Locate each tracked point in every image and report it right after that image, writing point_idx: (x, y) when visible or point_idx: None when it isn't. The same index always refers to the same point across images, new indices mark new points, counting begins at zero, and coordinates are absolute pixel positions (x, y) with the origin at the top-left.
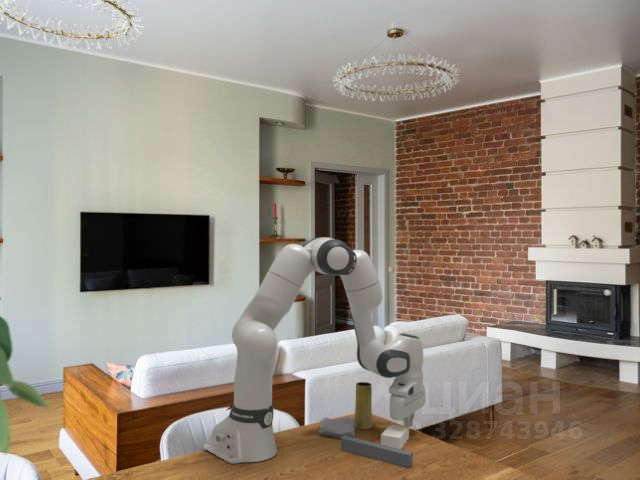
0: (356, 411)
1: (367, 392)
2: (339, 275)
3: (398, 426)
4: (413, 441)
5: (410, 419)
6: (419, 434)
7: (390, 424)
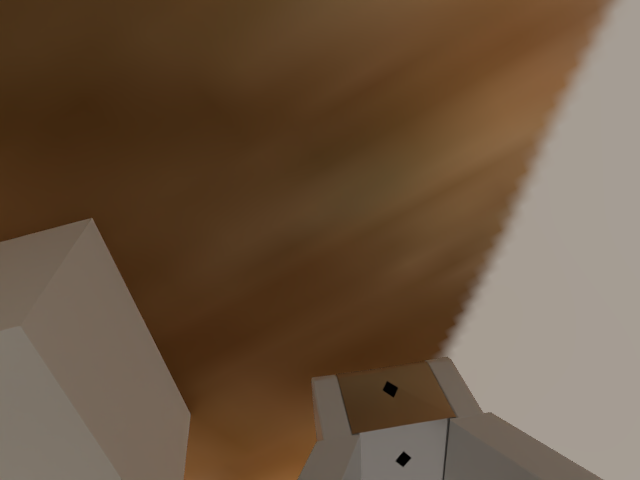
0: None
1: None
2: None
3: (66, 468)
4: None
5: (459, 472)
6: None
7: (22, 325)
